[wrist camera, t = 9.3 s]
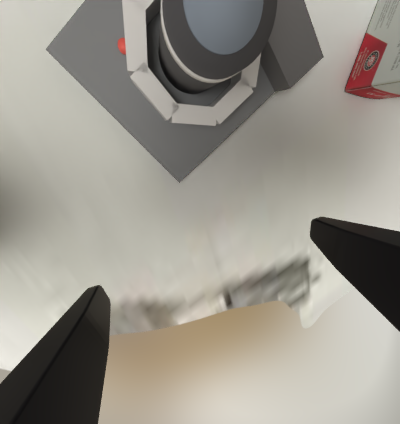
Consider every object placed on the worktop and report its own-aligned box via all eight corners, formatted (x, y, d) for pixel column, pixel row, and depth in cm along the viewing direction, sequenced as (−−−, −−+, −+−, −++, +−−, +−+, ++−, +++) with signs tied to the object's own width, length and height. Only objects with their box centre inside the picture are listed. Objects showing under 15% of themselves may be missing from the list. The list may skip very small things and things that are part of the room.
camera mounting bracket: (177, 179, 18) (183, 192, 15) (54, 55, 13) (20, 32, 10) (294, 67, 17) (330, 54, 13) (208, -133, 11) (232, -243, 8)
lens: (226, 88, 15) (280, 65, 9) (167, 100, 14) (179, 85, 8) (217, 6, 13) (281, -104, 6) (148, 17, 12) (144, -92, 6)
